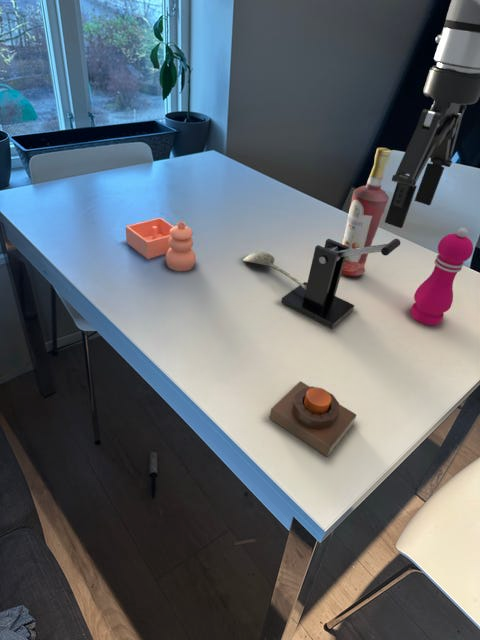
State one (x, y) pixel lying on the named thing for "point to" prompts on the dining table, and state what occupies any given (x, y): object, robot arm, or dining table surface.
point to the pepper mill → (441, 279)
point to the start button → (317, 400)
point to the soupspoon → (268, 263)
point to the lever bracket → (322, 288)
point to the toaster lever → (368, 249)
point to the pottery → (163, 242)
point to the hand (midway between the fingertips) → (408, 213)
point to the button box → (312, 420)
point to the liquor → (365, 215)
